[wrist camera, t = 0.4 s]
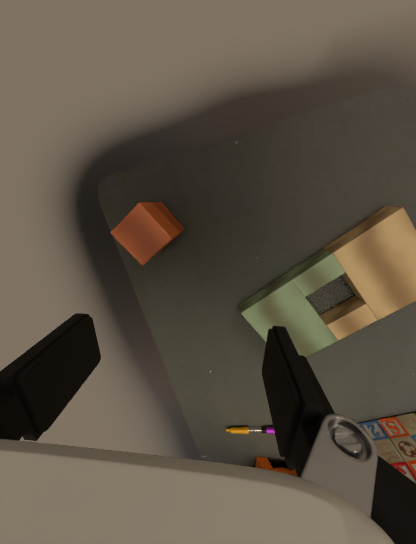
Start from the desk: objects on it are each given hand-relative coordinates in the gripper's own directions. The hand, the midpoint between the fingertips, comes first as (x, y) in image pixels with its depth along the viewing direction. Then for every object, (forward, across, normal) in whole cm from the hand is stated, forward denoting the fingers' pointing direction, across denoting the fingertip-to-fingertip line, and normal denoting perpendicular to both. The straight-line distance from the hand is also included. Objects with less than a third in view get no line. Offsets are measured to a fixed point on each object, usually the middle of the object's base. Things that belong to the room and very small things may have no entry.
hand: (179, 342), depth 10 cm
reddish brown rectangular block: (+18, +6, -3) cm, 19 cm away
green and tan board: (+18, -17, +5) cm, 26 cm away
